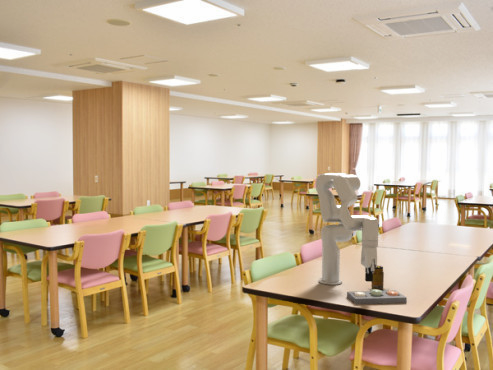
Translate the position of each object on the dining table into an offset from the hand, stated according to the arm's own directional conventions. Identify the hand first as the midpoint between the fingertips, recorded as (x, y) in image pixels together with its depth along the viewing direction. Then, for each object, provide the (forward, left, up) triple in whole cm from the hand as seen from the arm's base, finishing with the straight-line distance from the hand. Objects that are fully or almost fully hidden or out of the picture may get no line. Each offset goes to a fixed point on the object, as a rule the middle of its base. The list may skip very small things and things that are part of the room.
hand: (368, 281), depth 220 cm
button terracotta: (0, +12, -8) cm, 15 cm away
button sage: (0, +4, -7) cm, 8 cm away
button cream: (0, -4, -8) cm, 9 cm away
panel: (0, +4, -9) cm, 10 cm away
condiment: (-17, +12, -10) cm, 23 cm away
